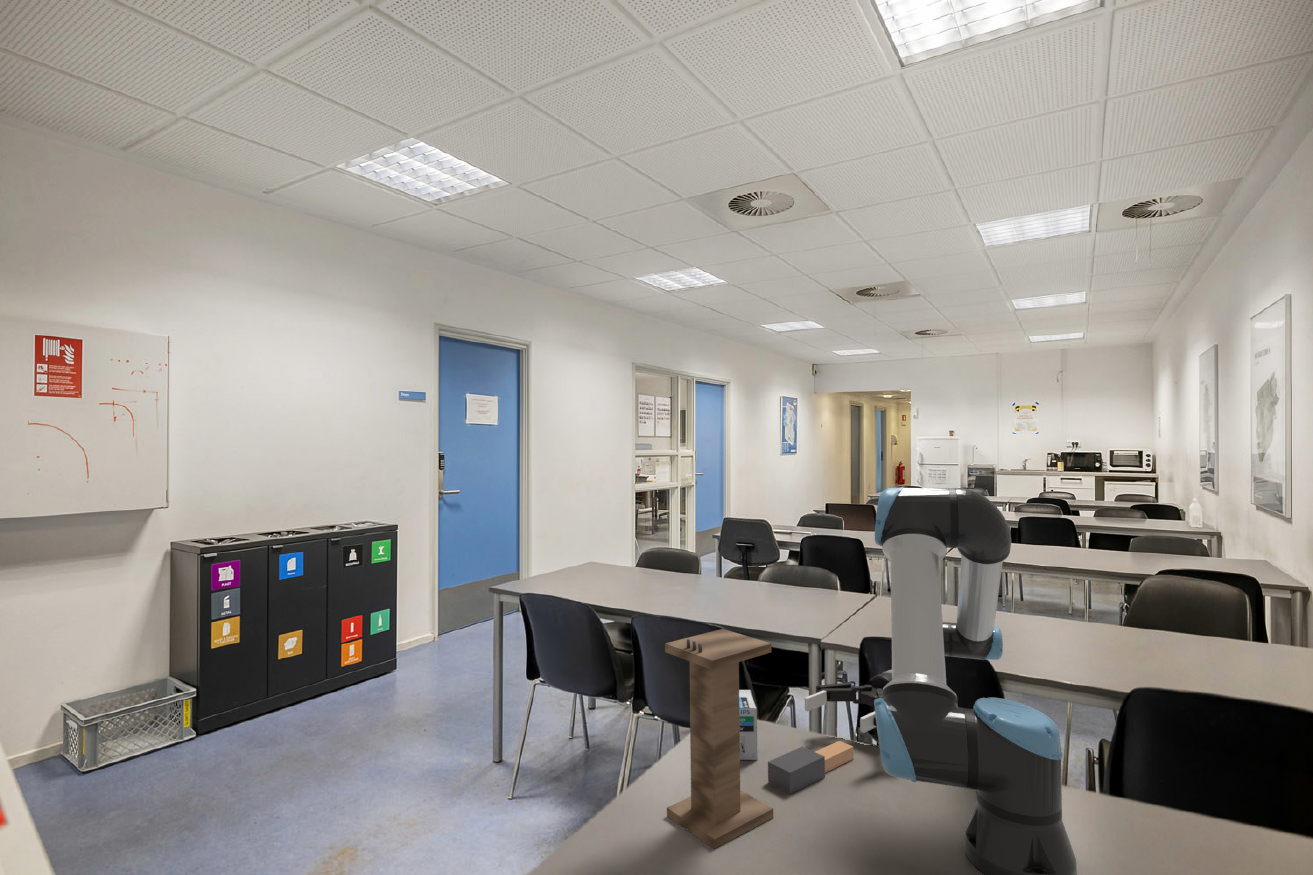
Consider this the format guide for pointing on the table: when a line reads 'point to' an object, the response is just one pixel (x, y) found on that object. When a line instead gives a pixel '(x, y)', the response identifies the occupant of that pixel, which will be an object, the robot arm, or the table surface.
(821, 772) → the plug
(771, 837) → the table surface
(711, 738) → the stand
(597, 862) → the table surface
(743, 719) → the light bulb box
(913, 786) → the table surface
